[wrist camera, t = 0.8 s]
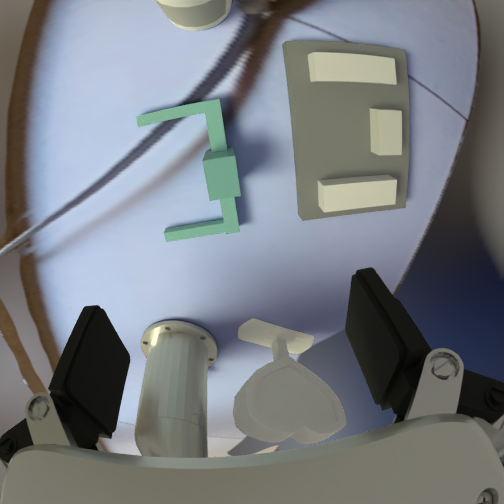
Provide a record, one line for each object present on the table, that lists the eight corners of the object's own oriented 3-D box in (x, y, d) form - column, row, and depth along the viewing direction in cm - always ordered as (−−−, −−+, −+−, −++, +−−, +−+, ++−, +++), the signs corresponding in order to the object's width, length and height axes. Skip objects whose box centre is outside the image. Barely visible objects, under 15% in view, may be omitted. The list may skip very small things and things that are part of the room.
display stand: (397, 202, 34) (413, 214, 31) (298, 213, 34) (306, 228, 31) (396, 51, 24) (414, 49, 21) (282, 44, 24) (290, 37, 20)
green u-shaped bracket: (244, 224, 34) (248, 245, 30) (167, 237, 34) (160, 258, 30) (226, 97, 27) (226, 97, 22) (139, 115, 26) (124, 119, 22)
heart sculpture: (323, 338, 46) (354, 430, 31) (306, 356, 48) (331, 445, 33) (240, 314, 41) (251, 426, 26) (226, 335, 44) (231, 441, 28)
